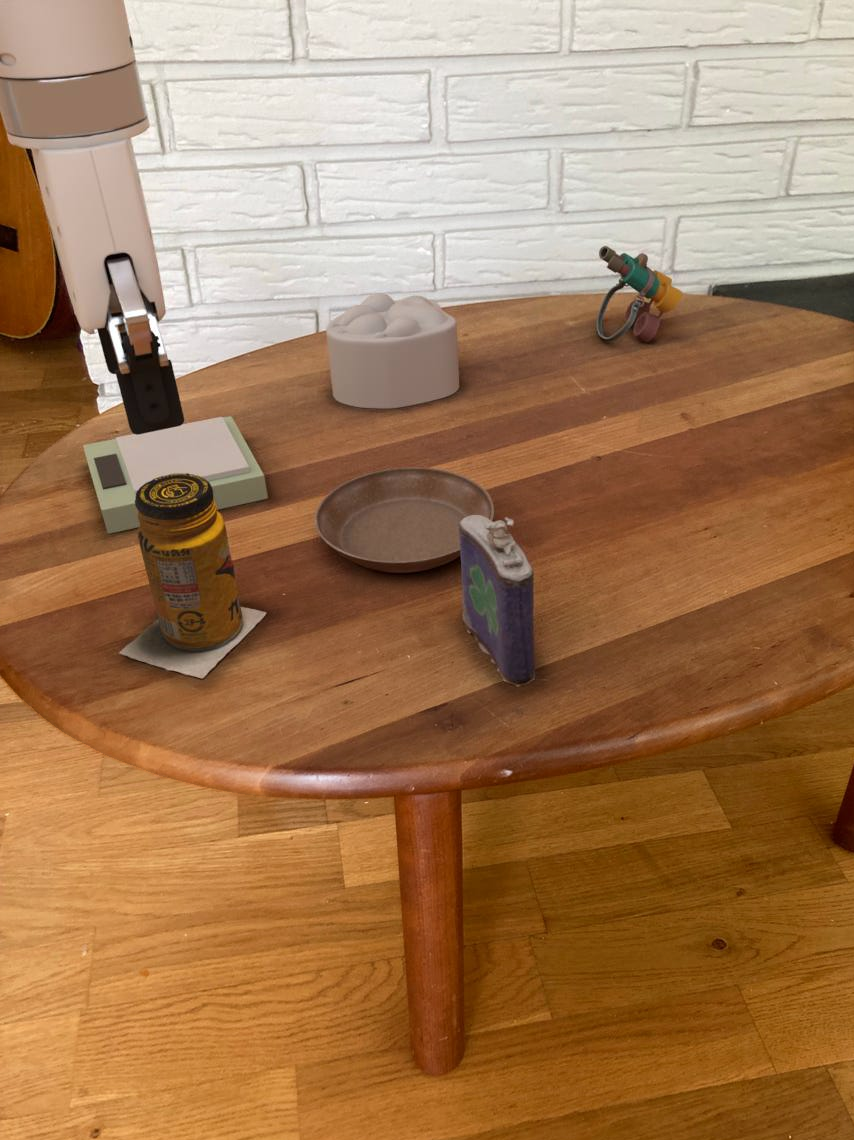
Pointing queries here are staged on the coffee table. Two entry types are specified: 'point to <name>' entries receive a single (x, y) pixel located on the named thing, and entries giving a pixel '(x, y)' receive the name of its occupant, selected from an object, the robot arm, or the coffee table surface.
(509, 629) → the flask
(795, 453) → the coffee table surface
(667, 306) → the multicolored plastic assembly
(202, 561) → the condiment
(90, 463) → the scale
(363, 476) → the saucer
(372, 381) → the lumpy-topped squat cylinder
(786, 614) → the coffee table surface
